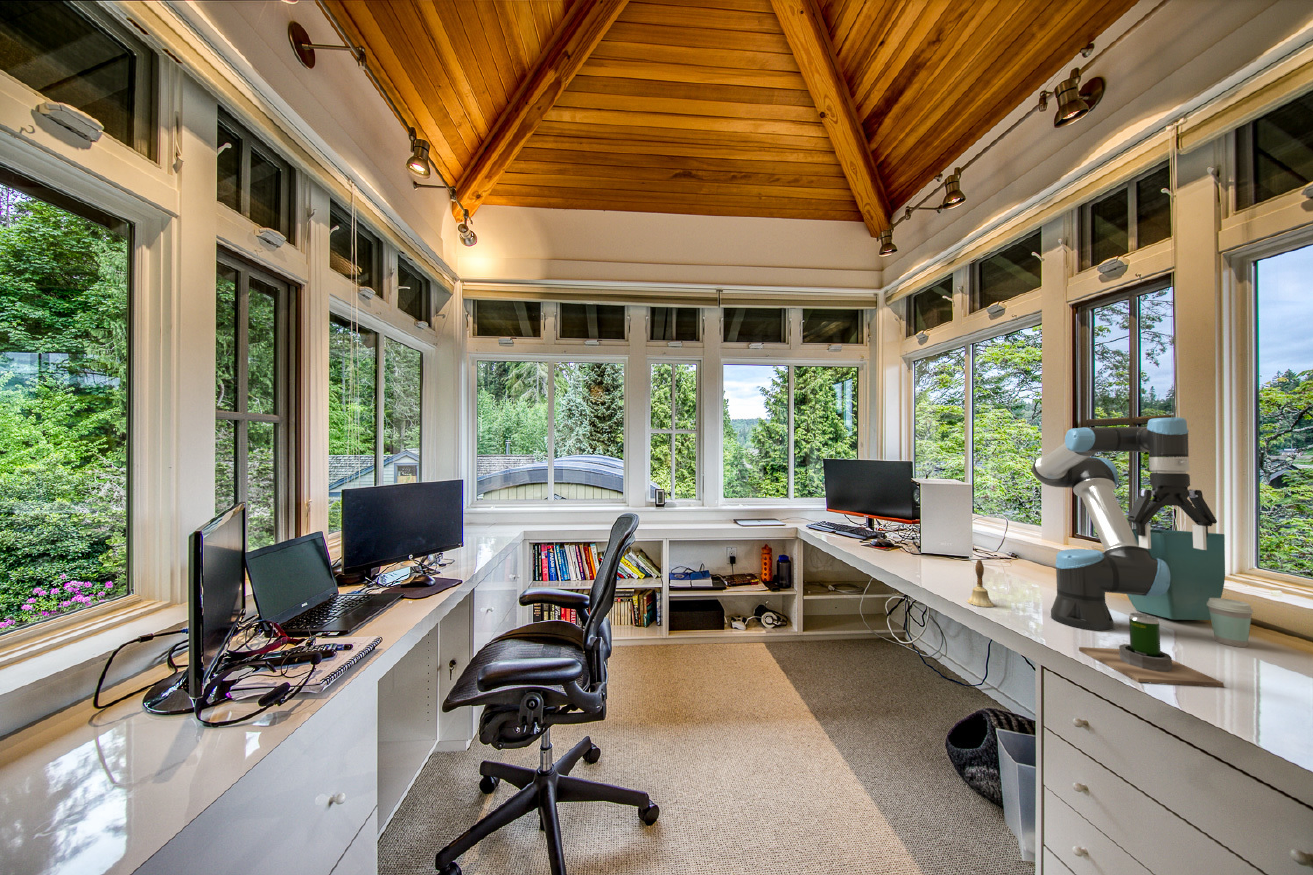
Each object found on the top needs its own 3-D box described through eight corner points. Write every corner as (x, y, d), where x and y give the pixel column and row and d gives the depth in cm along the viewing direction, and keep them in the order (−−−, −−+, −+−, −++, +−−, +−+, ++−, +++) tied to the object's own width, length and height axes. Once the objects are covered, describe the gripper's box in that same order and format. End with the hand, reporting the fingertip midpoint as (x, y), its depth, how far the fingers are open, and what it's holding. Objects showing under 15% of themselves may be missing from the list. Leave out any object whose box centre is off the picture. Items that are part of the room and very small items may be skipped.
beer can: (1158, 670, 114) (1156, 621, 115) (1128, 661, 119) (1126, 615, 119) (1163, 664, 117) (1161, 617, 118) (1133, 656, 122) (1131, 611, 122)
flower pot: (1112, 607, 165) (1104, 527, 168) (1170, 608, 164) (1161, 528, 167) (1171, 623, 145) (1161, 532, 148) (1238, 625, 144) (1226, 534, 147)
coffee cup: (1265, 650, 128) (1263, 607, 128) (1228, 648, 130) (1225, 605, 130) (1233, 638, 136) (1231, 598, 137) (1198, 636, 138) (1197, 596, 138)
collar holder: (1078, 650, 128) (1078, 636, 128) (1151, 653, 126) (1150, 639, 126) (1138, 682, 110) (1137, 665, 110) (1223, 686, 108) (1222, 669, 108)
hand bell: (963, 599, 173) (962, 557, 174) (988, 601, 171) (987, 558, 172) (972, 606, 165) (971, 562, 166) (998, 608, 163) (997, 563, 164)
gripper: (1131, 472, 126) (1134, 549, 126) (1235, 473, 123) (1238, 552, 122) (1108, 471, 134) (1111, 544, 133) (1205, 472, 131) (1208, 546, 130)
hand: (1172, 548), depth 128 cm, fingers open, 13 cm apart
